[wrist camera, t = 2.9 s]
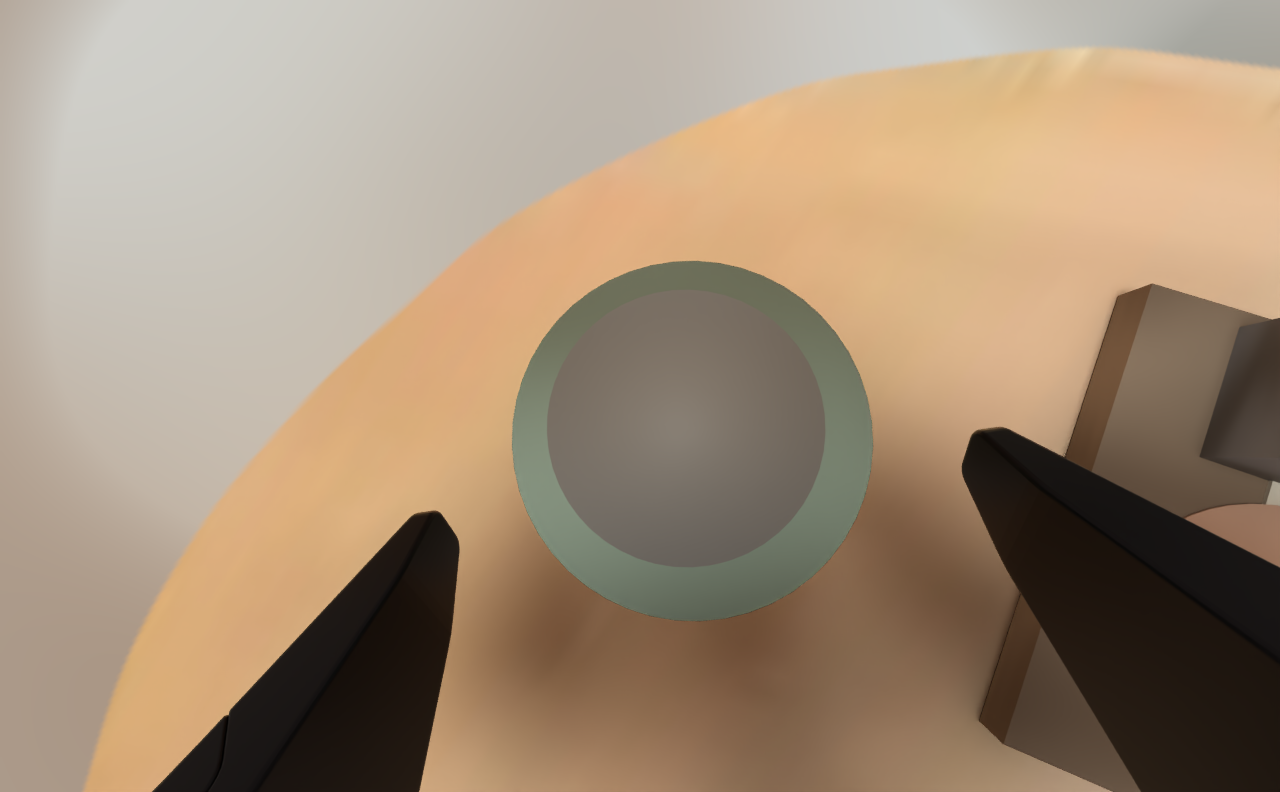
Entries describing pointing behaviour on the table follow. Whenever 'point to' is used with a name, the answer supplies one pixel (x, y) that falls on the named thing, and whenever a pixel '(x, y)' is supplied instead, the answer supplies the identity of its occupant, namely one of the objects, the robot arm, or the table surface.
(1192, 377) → the digital kitchen scale
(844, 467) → the ring stacking peg
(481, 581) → the table surface
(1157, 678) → the robot arm
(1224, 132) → the table surface
